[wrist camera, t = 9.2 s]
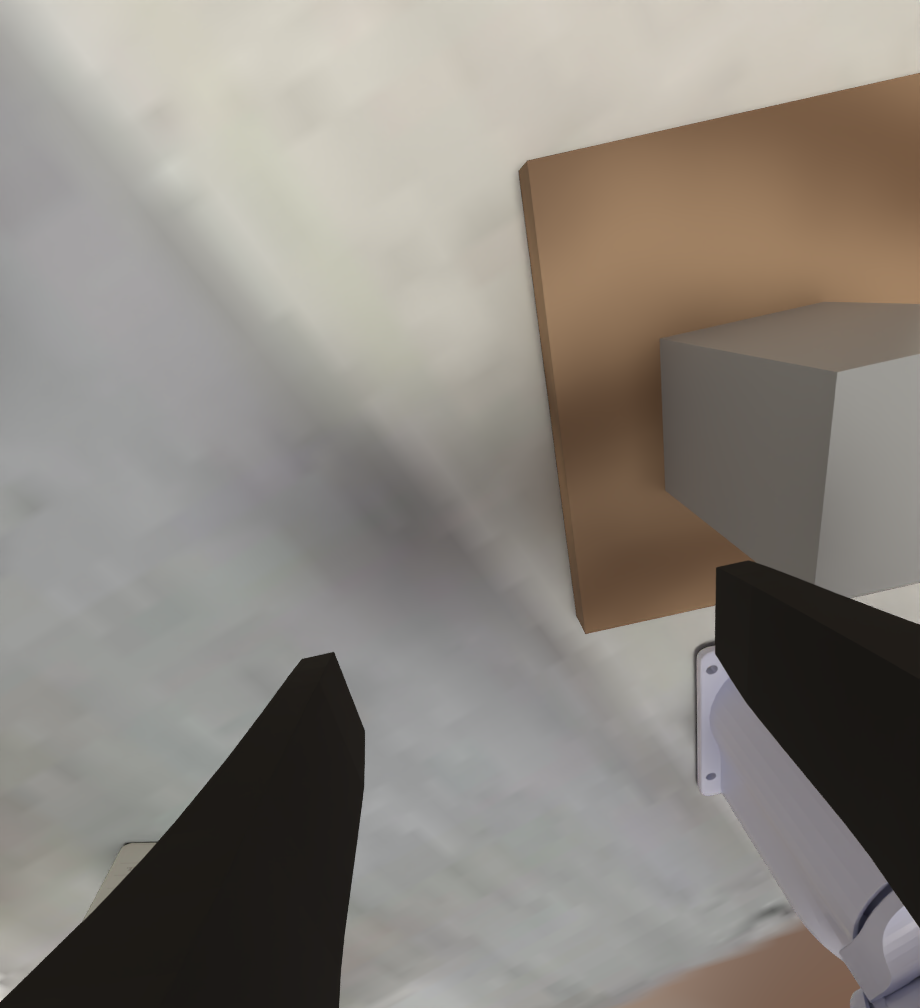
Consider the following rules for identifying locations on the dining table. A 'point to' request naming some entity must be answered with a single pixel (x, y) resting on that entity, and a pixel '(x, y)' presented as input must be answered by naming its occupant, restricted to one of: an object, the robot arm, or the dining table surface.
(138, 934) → the robot arm
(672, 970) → the dining table surface
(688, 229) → the walnut board
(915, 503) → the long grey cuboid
